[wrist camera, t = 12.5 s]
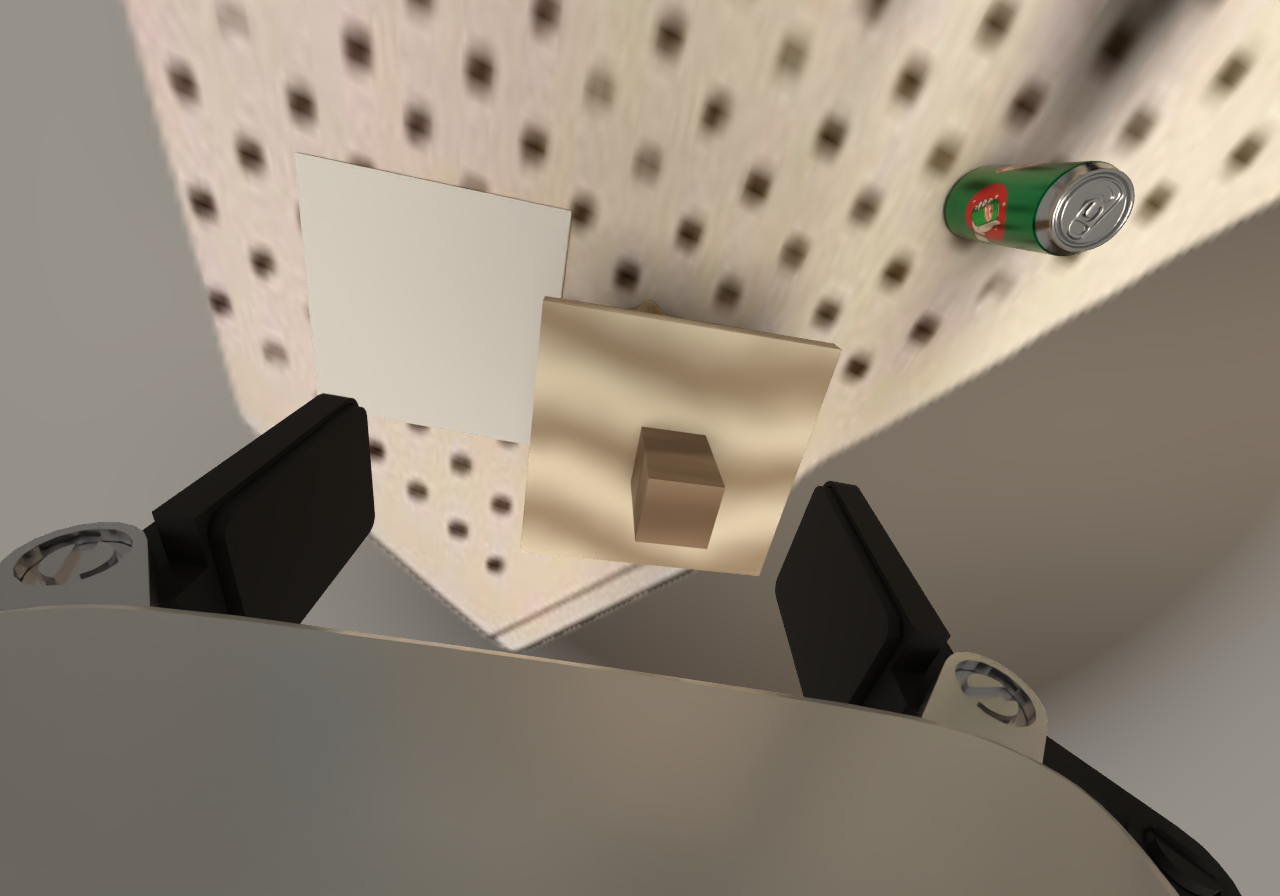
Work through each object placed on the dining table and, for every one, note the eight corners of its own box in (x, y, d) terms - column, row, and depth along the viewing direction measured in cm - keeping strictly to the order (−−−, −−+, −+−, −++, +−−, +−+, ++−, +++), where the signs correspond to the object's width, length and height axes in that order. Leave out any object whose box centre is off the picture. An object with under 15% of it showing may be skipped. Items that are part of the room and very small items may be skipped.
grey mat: (299, 152, 40) (294, 152, 39) (572, 211, 41) (571, 211, 40) (322, 404, 49) (318, 406, 48) (543, 444, 50) (542, 447, 50)
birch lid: (545, 295, 29) (527, 331, 22) (833, 343, 31) (892, 388, 25) (522, 540, 36) (504, 618, 30) (754, 564, 39) (783, 642, 32)
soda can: (1025, 184, 39) (1163, 186, 29) (980, 249, 42) (1092, 273, 31) (971, 153, 39) (1093, 142, 28) (927, 221, 41) (1025, 235, 30)
